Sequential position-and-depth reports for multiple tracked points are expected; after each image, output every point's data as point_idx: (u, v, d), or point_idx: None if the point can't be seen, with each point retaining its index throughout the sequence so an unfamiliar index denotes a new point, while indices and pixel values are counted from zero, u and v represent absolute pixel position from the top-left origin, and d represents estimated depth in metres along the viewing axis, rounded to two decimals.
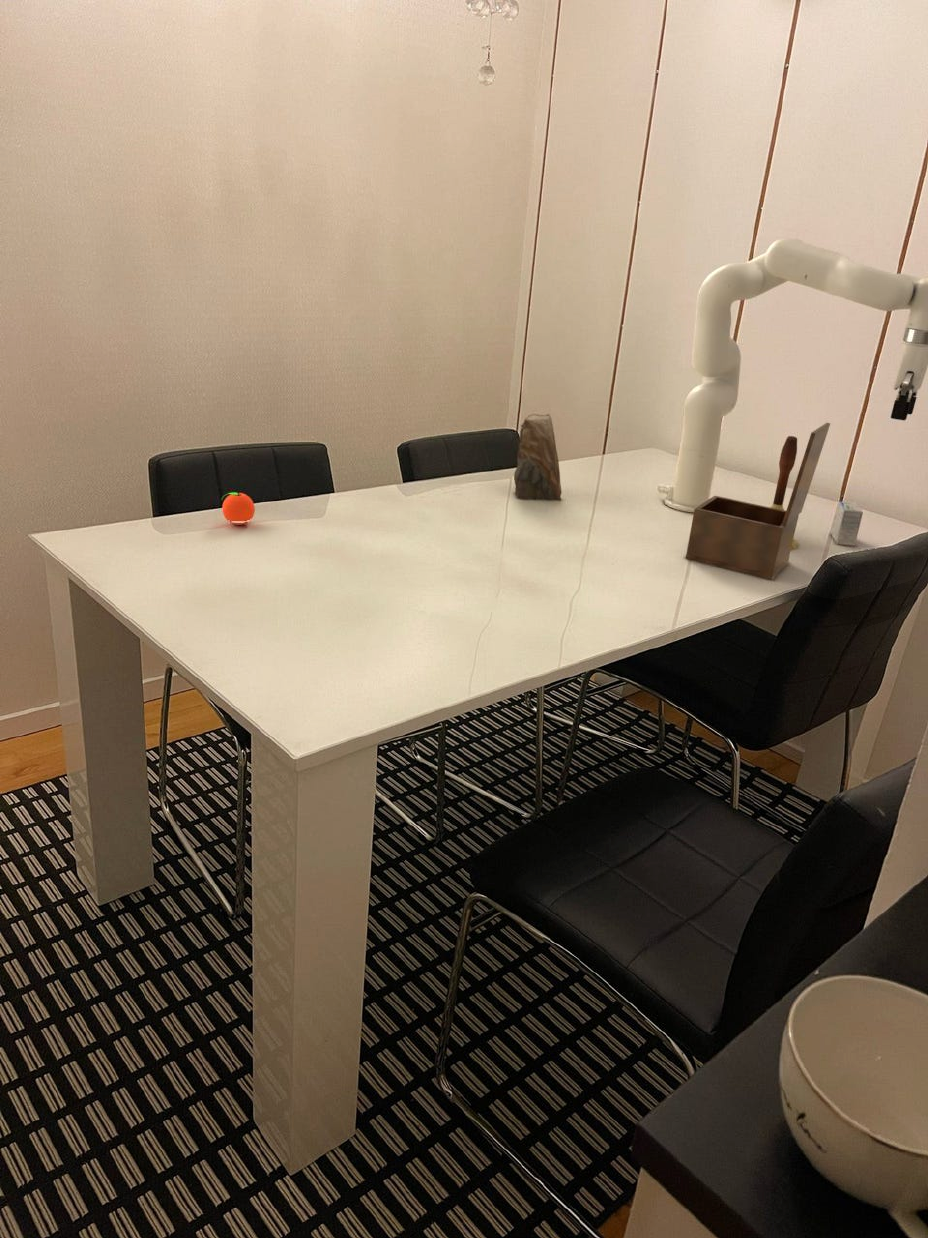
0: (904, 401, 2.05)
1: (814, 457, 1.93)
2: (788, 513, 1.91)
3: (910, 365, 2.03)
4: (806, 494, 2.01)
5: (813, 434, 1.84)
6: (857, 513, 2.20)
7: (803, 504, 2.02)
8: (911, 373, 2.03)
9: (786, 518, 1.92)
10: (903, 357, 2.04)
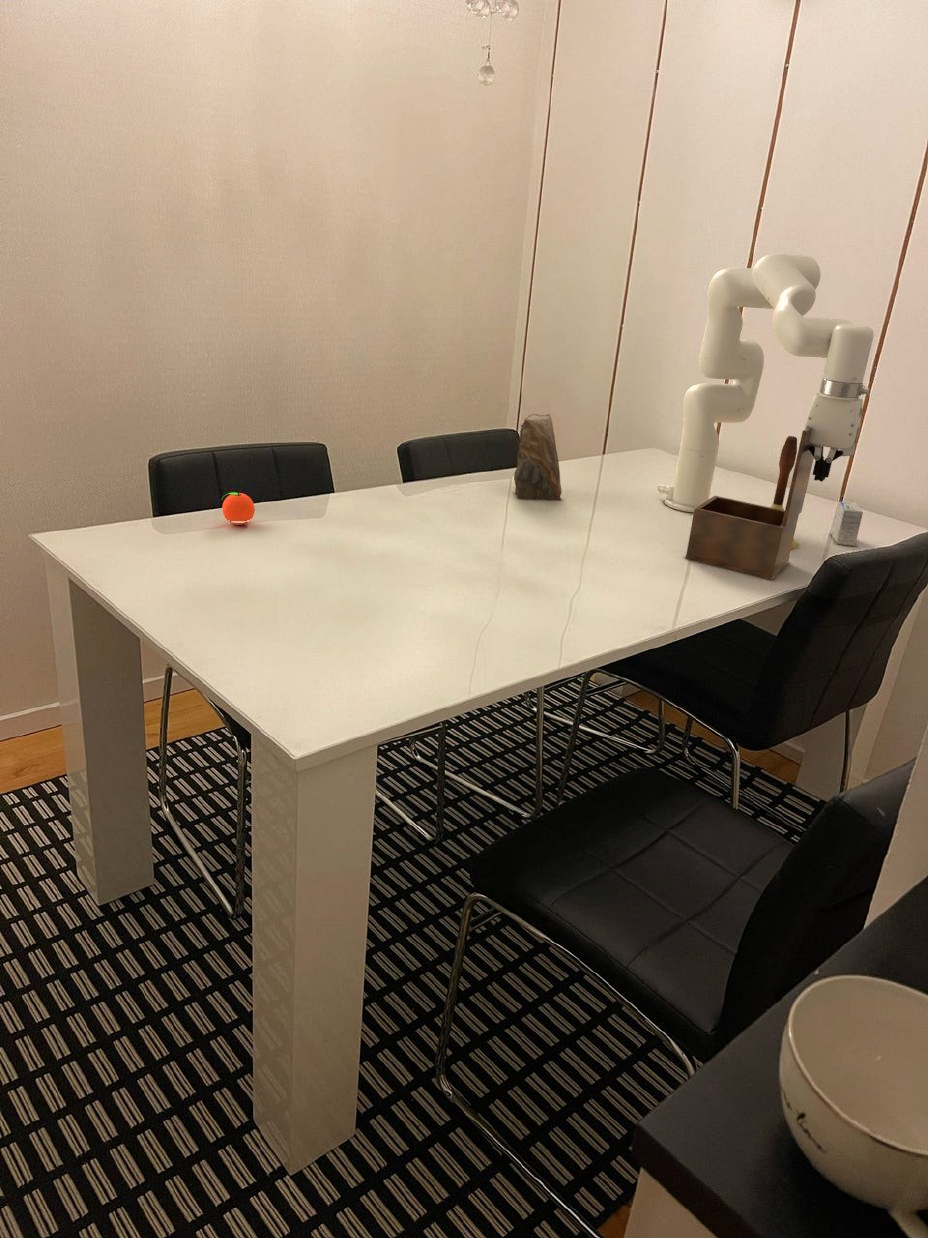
0: None
1: (808, 456, 1.93)
2: (787, 513, 1.91)
3: None
4: (804, 493, 2.01)
5: (804, 432, 1.85)
6: (857, 513, 2.20)
7: (802, 504, 2.02)
8: None
9: (785, 518, 1.92)
10: None
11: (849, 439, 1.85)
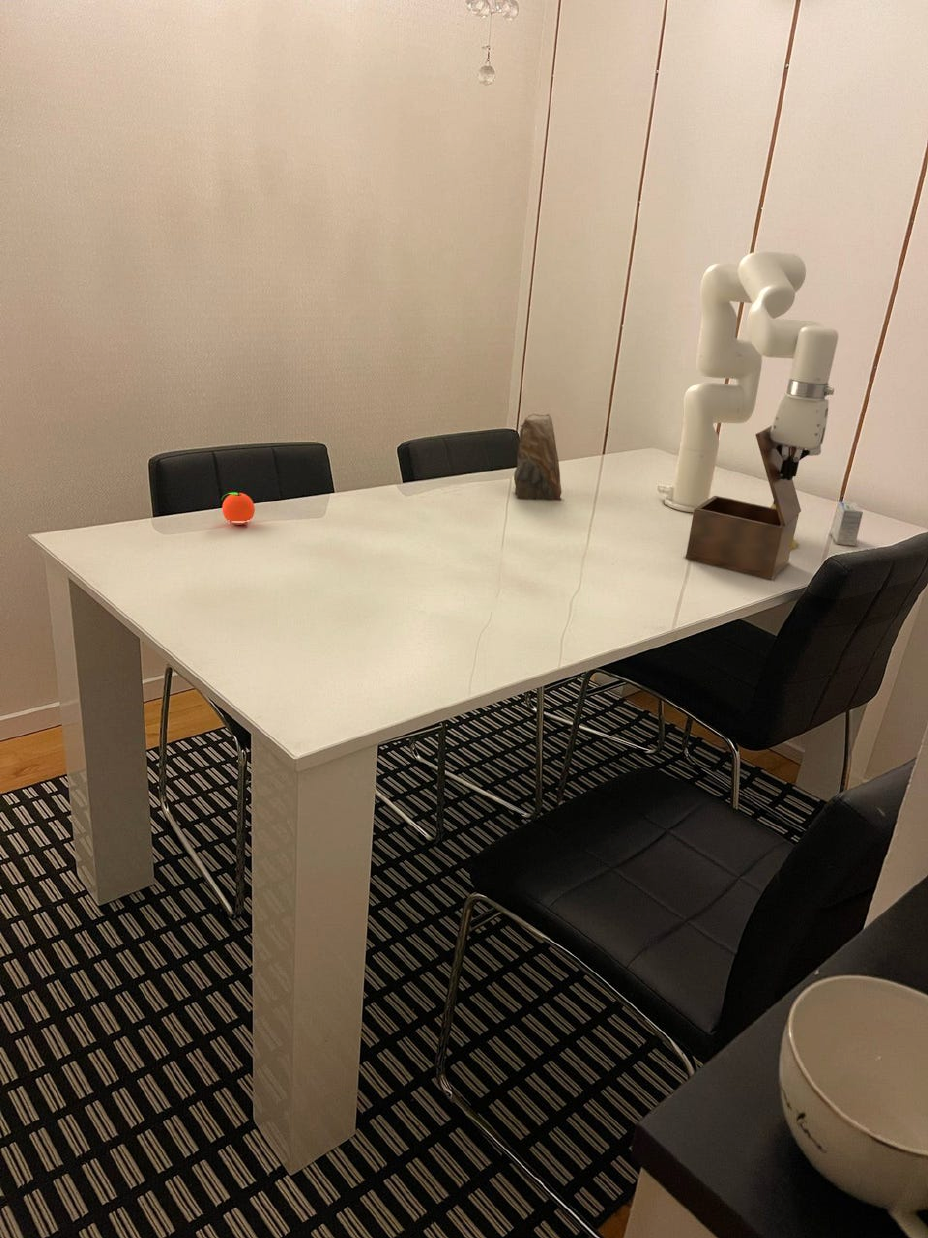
0: None
1: (777, 456, 1.97)
2: (780, 512, 1.92)
3: None
4: (795, 493, 2.02)
5: (757, 434, 1.90)
6: (857, 513, 2.20)
7: (798, 503, 2.03)
8: None
9: (781, 518, 1.92)
10: None
11: (815, 439, 1.89)
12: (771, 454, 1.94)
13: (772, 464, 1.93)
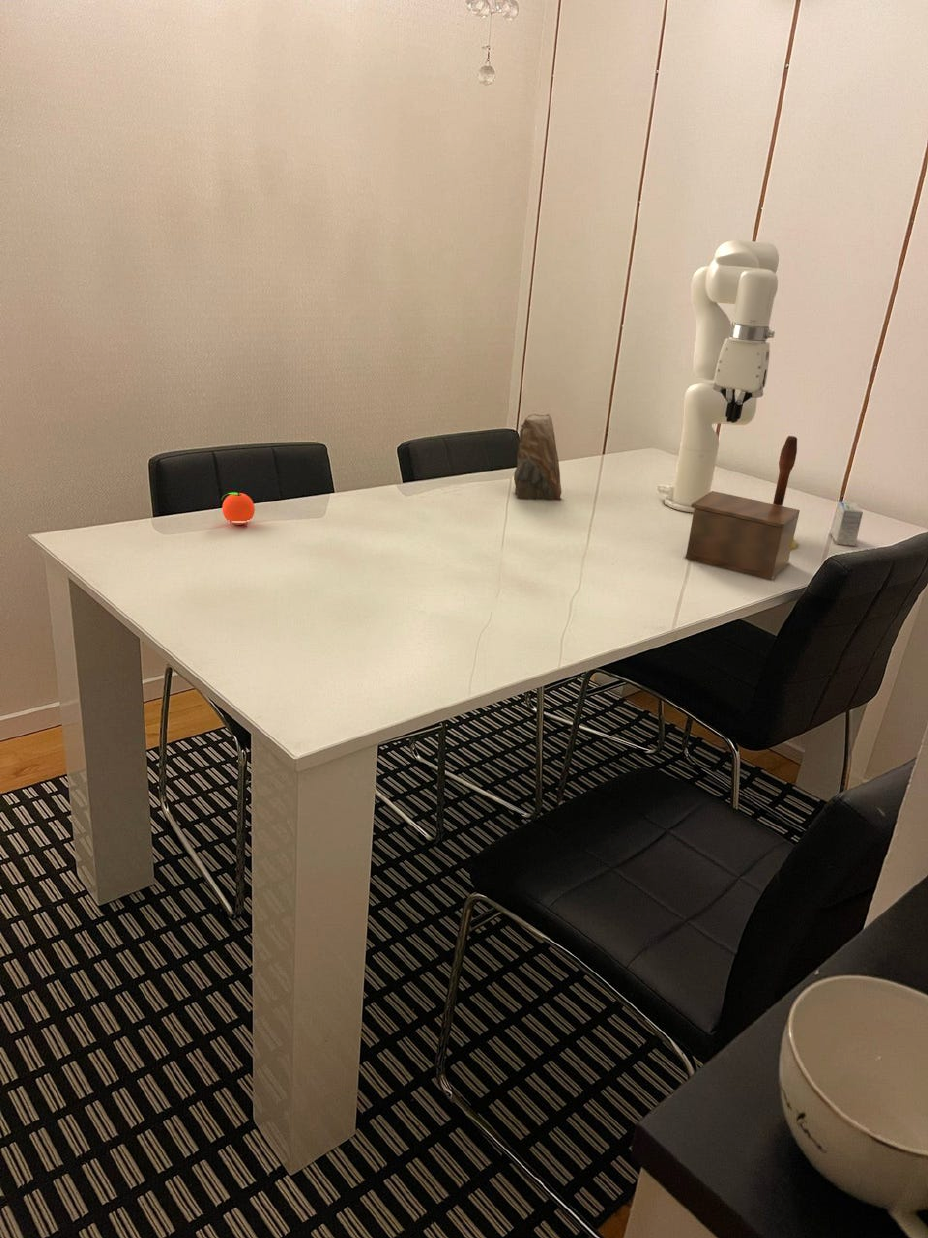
0: None
1: (731, 502, 2.05)
2: (769, 522, 1.94)
3: None
4: (779, 506, 2.05)
5: (692, 505, 2.02)
6: (857, 513, 2.20)
7: (790, 508, 2.04)
8: None
9: (774, 523, 1.93)
10: None
11: (757, 381, 1.95)
12: (721, 504, 2.03)
13: (728, 507, 2.01)
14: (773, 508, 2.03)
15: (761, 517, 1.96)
